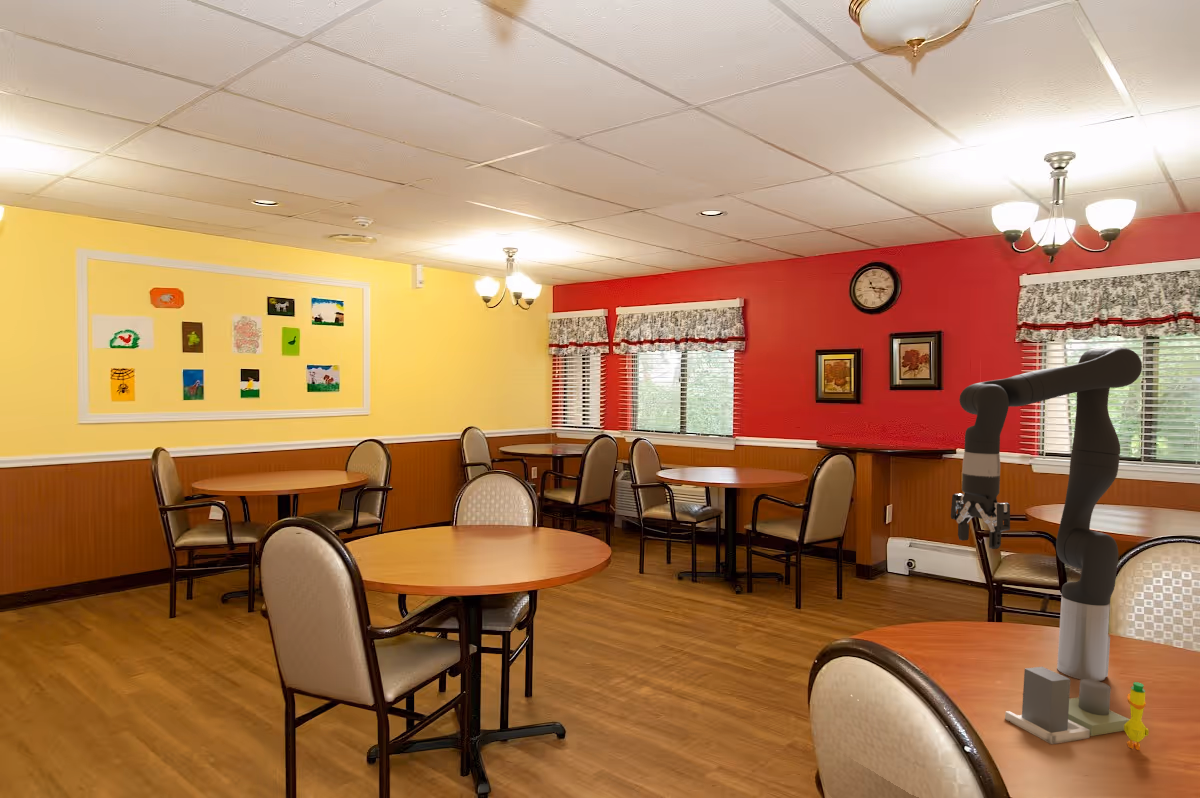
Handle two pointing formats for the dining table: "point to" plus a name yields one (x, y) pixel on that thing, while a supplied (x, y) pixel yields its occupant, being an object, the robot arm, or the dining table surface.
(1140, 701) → the toy figure
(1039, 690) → the gray rectangular block
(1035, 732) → the cylinder and block set
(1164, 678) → the dining table surface
